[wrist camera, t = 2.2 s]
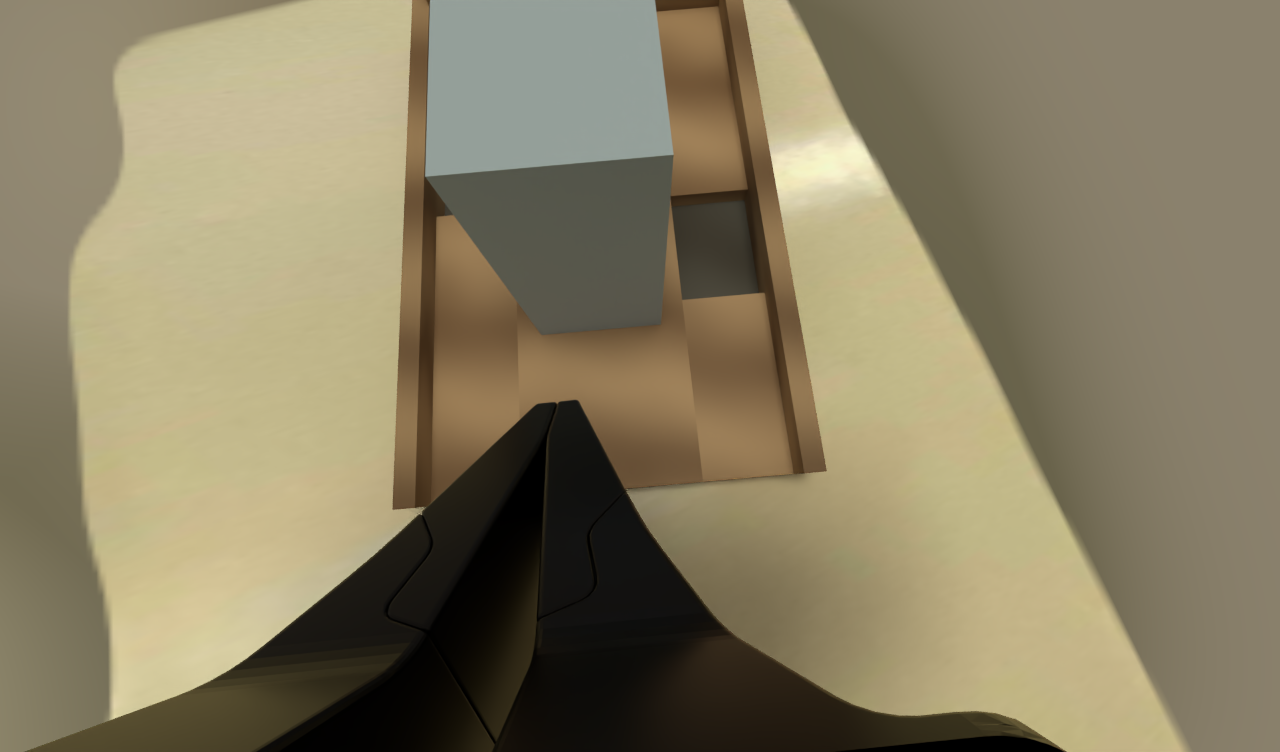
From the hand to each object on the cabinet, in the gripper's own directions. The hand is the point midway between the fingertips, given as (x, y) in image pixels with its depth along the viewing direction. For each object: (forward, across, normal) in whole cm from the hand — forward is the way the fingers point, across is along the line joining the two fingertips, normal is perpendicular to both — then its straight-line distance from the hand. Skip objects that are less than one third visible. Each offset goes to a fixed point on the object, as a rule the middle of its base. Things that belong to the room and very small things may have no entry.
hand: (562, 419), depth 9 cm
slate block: (+12, 0, 0) cm, 13 cm away
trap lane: (+14, 0, -1) cm, 14 cm away
